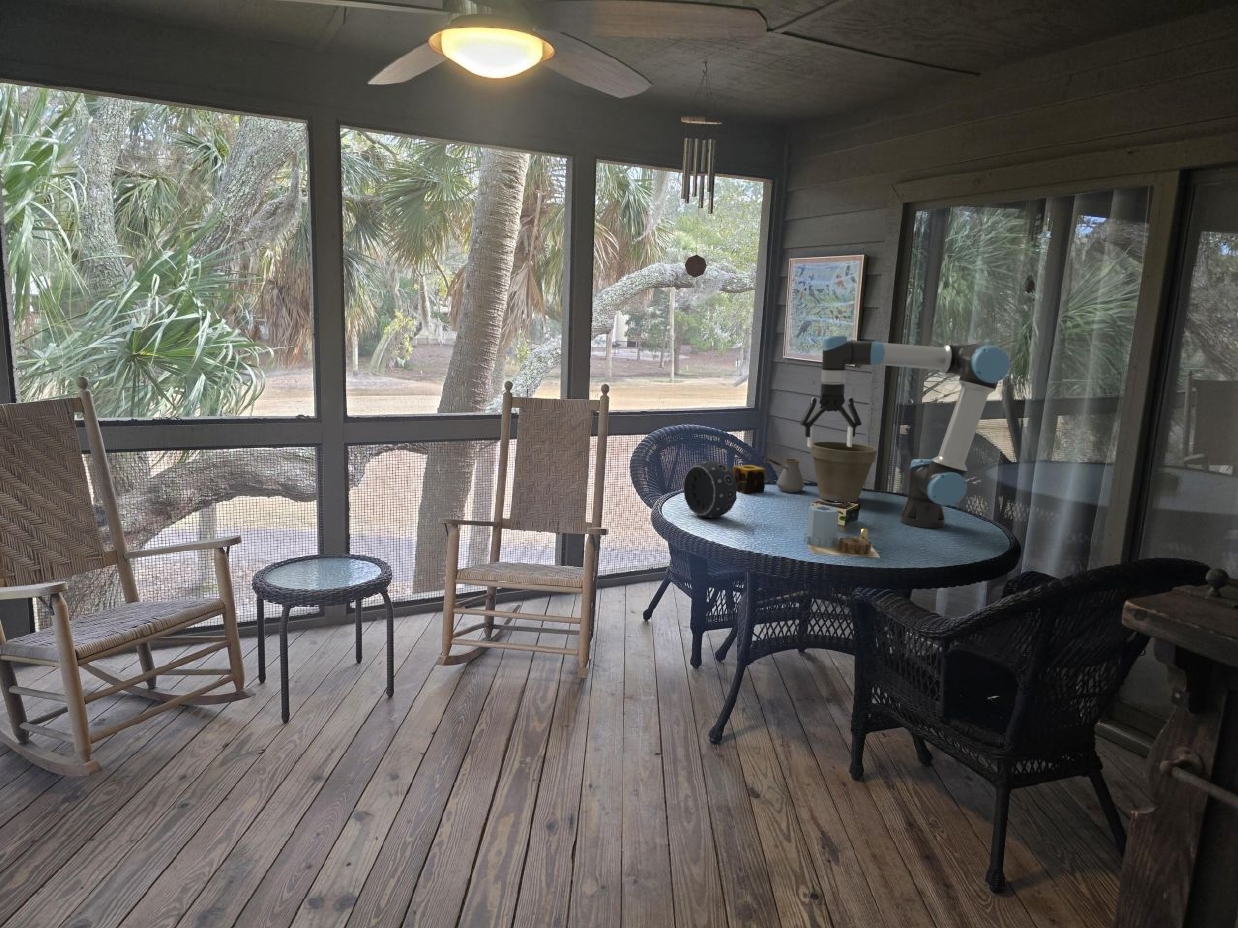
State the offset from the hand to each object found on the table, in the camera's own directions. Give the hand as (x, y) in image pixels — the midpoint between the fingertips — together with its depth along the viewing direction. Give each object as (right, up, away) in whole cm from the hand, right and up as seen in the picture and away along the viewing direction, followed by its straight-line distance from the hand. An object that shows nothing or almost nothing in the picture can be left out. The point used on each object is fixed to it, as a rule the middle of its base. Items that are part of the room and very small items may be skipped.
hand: (829, 446), depth 268 cm
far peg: (+6, -31, -18) cm, 36 cm away
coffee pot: (-3, -17, +62) cm, 65 cm away
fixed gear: (+1, -32, -25) cm, 41 cm away
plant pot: (+18, -20, +52) cm, 58 cm away
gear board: (-2, -33, -22) cm, 39 cm away
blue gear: (-7, -30, -18) cm, 36 cm away
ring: (-39, -25, +16) cm, 49 cm away
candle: (-18, -17, +62) cm, 66 cm away
